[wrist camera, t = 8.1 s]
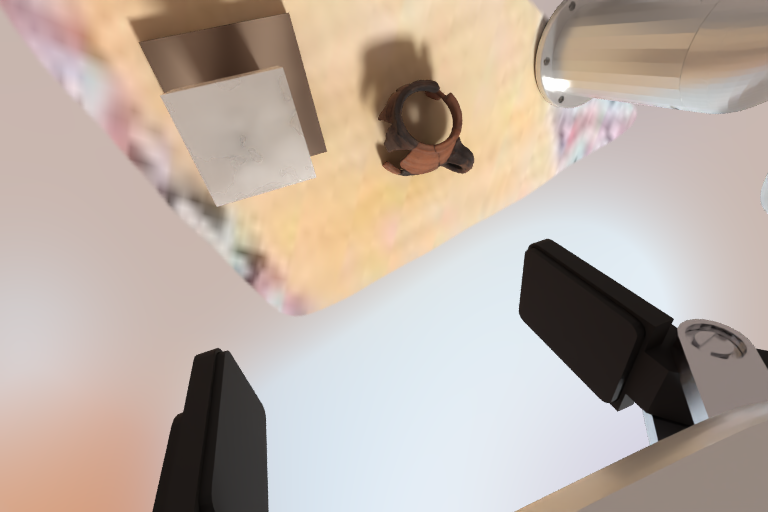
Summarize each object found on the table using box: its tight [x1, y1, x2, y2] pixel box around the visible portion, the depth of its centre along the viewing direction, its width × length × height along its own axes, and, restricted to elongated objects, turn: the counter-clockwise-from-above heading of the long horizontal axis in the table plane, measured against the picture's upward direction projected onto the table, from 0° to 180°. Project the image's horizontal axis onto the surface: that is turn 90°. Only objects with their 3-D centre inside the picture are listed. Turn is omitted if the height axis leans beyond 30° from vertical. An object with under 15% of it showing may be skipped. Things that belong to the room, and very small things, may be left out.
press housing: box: [139, 13, 327, 156], centre depth 27 cm, size 12×12×12 cm
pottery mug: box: [378, 80, 474, 176], centre depth 37 cm, size 12×10×8 cm
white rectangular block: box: [160, 66, 316, 207], centre depth 24 cm, size 6×6×15 cm
